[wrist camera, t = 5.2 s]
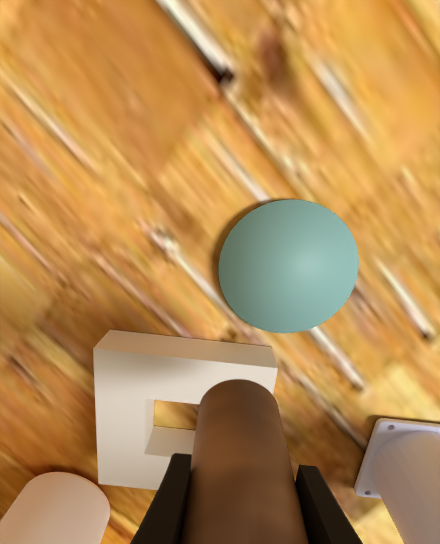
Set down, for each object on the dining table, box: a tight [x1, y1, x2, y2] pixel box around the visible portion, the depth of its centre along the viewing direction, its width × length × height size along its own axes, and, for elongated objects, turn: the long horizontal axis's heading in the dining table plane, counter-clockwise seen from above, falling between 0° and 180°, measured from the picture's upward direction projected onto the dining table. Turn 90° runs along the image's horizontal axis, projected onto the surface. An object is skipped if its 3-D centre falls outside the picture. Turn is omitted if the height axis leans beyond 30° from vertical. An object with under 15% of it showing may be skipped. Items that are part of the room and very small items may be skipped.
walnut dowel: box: [180, 379, 309, 544], centre depth 9 cm, size 4×4×8 cm
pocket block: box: [93, 330, 278, 490], centre depth 20 cm, size 12×12×2 cm
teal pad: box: [218, 199, 359, 333], centre depth 18 cm, size 9×9×1 cm
